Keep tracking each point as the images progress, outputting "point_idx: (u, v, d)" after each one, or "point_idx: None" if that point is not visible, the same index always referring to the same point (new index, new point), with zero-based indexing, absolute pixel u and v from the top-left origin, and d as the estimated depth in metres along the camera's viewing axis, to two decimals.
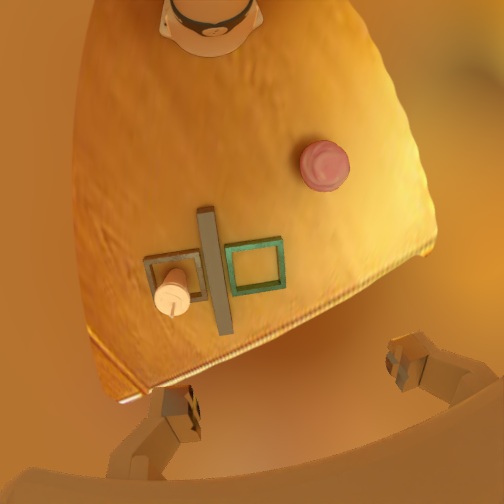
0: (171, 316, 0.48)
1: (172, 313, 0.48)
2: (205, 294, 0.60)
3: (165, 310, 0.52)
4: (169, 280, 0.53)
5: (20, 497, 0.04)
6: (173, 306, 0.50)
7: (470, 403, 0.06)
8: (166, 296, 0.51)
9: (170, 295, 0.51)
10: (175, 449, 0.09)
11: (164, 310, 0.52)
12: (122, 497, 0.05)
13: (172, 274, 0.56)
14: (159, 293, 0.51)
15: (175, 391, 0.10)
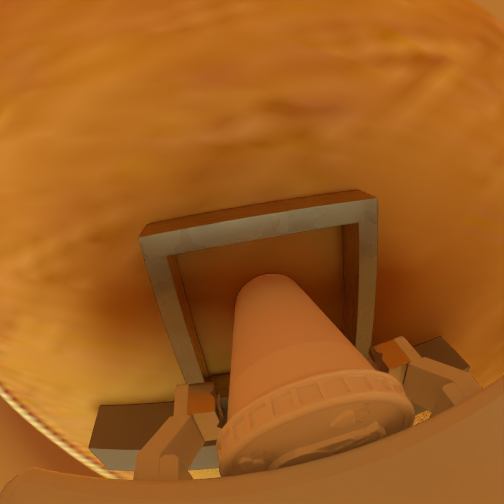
0: None
1: None
2: None
3: (257, 448, 0.07)
4: None
5: (20, 497, 0.04)
6: None
7: (470, 403, 0.06)
8: (362, 443, 0.07)
9: None
10: (199, 447, 0.09)
11: (259, 444, 0.07)
12: (122, 497, 0.05)
13: None
14: (384, 409, 0.07)
15: (200, 388, 0.10)
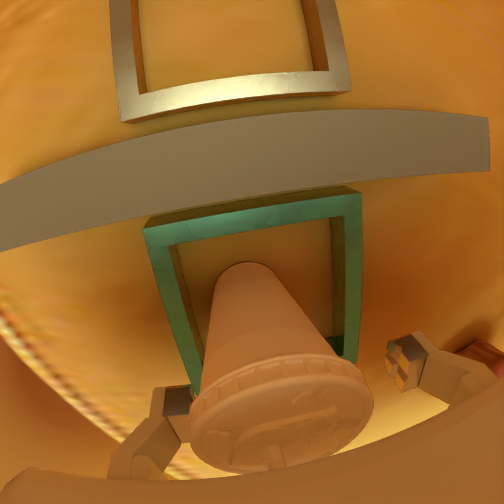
0: None
1: None
2: (150, 108, 0.12)
3: (224, 421, 0.08)
4: None
5: (20, 497, 0.04)
6: None
7: (470, 403, 0.06)
8: (321, 424, 0.08)
9: (321, 434, 0.09)
10: (176, 449, 0.09)
11: (226, 417, 0.08)
12: (122, 497, 0.05)
13: None
14: (343, 393, 0.08)
15: (176, 391, 0.10)
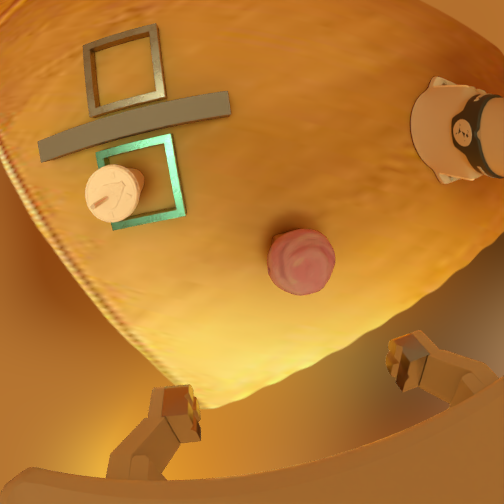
0: (93, 206, 0.26)
1: (97, 206, 0.27)
2: (98, 112, 0.33)
3: (93, 182, 0.29)
4: None
5: (20, 497, 0.04)
6: (104, 201, 0.29)
7: (470, 403, 0.06)
8: (118, 187, 0.30)
9: (119, 193, 0.30)
10: (175, 449, 0.09)
11: (93, 180, 0.29)
12: (122, 497, 0.05)
13: (141, 183, 0.36)
14: (122, 175, 0.30)
15: (175, 391, 0.10)
